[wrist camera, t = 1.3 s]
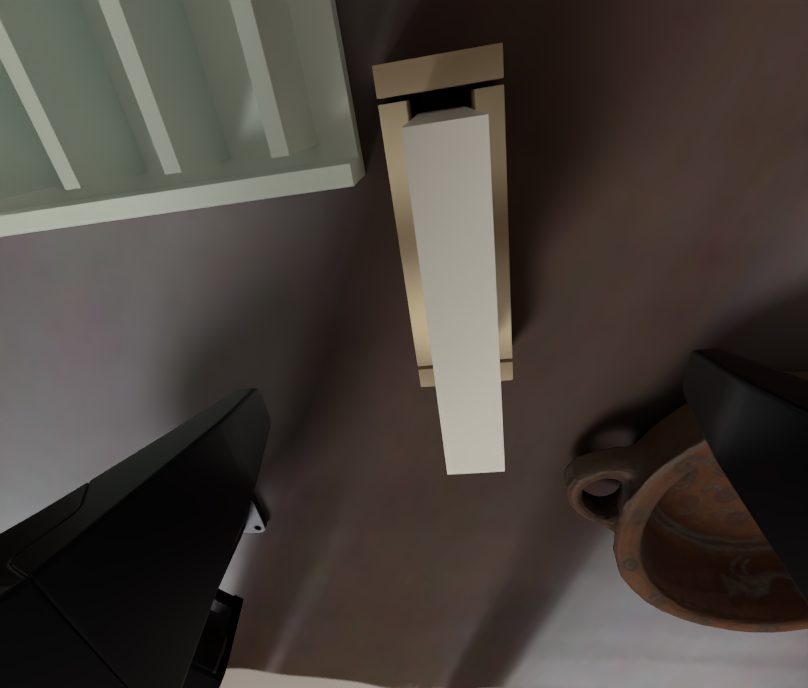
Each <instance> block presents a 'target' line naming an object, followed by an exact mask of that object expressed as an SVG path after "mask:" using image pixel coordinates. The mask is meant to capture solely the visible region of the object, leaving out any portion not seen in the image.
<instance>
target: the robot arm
mask: <svg viewBox="0 0 808 688" xmlns="http://www.w3.org/2000/svg"><path fill="white" fill-rule="evenodd" d="M683 391H684V395H685V398H686V400H687V402H688V404H689V406H690V408H691V410H692V412H693V415H694V417H695V419H696V421H697V423H698V425H699V427H700V429H701V431H702V433H703V435H704V437H705V439H706V441H707V443H708V445H709V447H710V449H711V451H712V453H713V455H714V457H715V459H716V461H717V463H718V464H719V466H720V467H721V469H722V471H723V472H724V474H725V476H726V477H727V479H728V480H729V482H730V483H731V485H732V486H733V488H734V490H735V491H736V493H737V494H738V496H739V497H740V499H741V500H742V502H743V504H744V505H745V507H746V508H747V510H748V511H749V513H750V515H751V516H752V518H753V519H754V521H755V522H756V524H757V525H758V527H759V529H760V530H761V532H762V533H763V535H764V536H765V538H766V539H767V541H768V543H769V544H770V546H771V547H772V549H773V550H774V552H775V554H776V555H777V557H778V558H779V560H780V561H781V563H782V564H783V566H784V568H785V569H786V571H787V572H788V574H789V575H790V577H791V578H792V580H793V582H794V583H795V585H796V586H797V588H798V589H799V591H800V593H801V594H802V596H803V597H804V599H805V600H806V602H807V603H808V380H807V379H805V378H802V377H799V376H796V375H793V374H790V373H787V372H784V371H781V370H778V369H775V368H772V367H769V366H766V365H764V364H761V363H758V362H755V361H752V360H749V359H746V358H743V357H740V356H737V355H734V354H731V353H728V352H726V351H723V350H720V349H716V348H710V349H699V350H694V351H692V352H691V353H690V355H689V358H688V362H687V367H686V373H685V378H684V383H683ZM269 429H270V417H269V414H268V412H267V409H266V406H265V404H264V401H263V398H262V395H261V393H260V392H259V390H257V389H256V388H249V389H240V390H237V391H235V392H234V393H232V394H231V395H229V396H227V397H226V398H224V399H222V400H221V401H219V402H218V403H216V404H214V405H213V406H211V407H209V408H208V409H206V410H205V411H203V412H201V413H200V414H198V415H196V416H195V417H193V418H192V419H190V420H188V421H187V422H185V423H183V424H182V425H180V426H178V427H177V428H175V429H174V430H172V431H170V432H169V433H167V434H165V435H164V436H162V437H161V438H159V439H157V440H156V441H154V442H152V443H151V444H149V445H148V446H146V447H144V448H143V449H141V450H139V451H138V452H136V453H135V454H133V455H131V456H130V457H128V458H126V459H125V460H123V461H122V462H120V463H118V464H117V465H115V466H113V467H112V468H110V469H109V470H107V471H105V472H104V473H102V474H100V475H99V476H97V477H96V478H94V479H92V480H91V481H90V483H86V484H84V485H82V486H81V487H79V488H77V489H76V490H74V491H73V492H71V493H69V494H68V495H66V496H64V497H63V498H61V499H59V500H58V501H56V502H54V503H53V504H51V505H49V506H48V507H46V508H44V509H43V510H41V511H39V512H38V513H36V514H34V515H32V516H31V517H29V518H27V519H25V520H24V521H22V522H20V523H18V524H17V525H15V526H13V527H11V528H10V529H8V530H6V531H4V532H3V533H1V534H0V688H219V687H220V684H221V682H222V679H223V677H224V674H225V671H226V668H227V665H228V661H229V657H230V653H231V649H232V644H233V640H234V636H235V632H236V628H237V624H238V620H239V616H240V612H241V608H242V604H243V598H241V597H238V596H236V595H235V596H232V595H230V594H228V593H226V592H224V591H222V590H220V589H218V588H219V585H220V583H221V581H222V579H223V576H224V574H225V572H226V570H227V568H228V565H229V563H230V561H231V559H232V556H233V554H234V552H235V550H236V548H237V545H238V543H239V541H240V539H241V536H242V534H243V533H261V532H264V530H265V528H266V526H267V523H266V520H265V518H264V516H263V513H262V511H261V509H260V507H259V504H258V502H257V500H256V497H255V495H254V493H253V492H254V489H255V485H256V482H257V478H258V474H259V470H260V466H261V462H262V458H263V454H264V450H265V446H266V442H267V438H268V434H269Z"/></svg>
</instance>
